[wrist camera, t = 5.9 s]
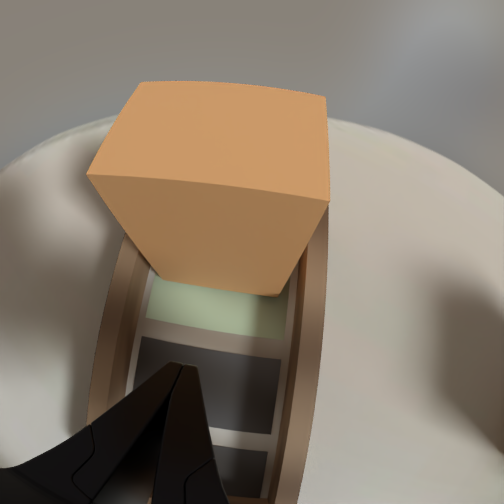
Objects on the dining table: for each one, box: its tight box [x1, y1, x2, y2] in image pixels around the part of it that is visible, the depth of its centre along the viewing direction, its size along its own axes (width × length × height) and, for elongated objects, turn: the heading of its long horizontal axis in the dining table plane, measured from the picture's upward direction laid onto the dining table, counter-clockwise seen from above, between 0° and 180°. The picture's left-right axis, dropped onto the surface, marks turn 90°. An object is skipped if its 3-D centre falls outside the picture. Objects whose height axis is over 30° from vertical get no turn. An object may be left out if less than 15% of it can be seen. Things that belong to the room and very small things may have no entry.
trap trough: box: [86, 206, 328, 504], centre depth 13 cm, size 18×10×3 cm, turn 172°
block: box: [86, 81, 330, 298], centre depth 11 cm, size 4×6×9 cm, turn 82°
